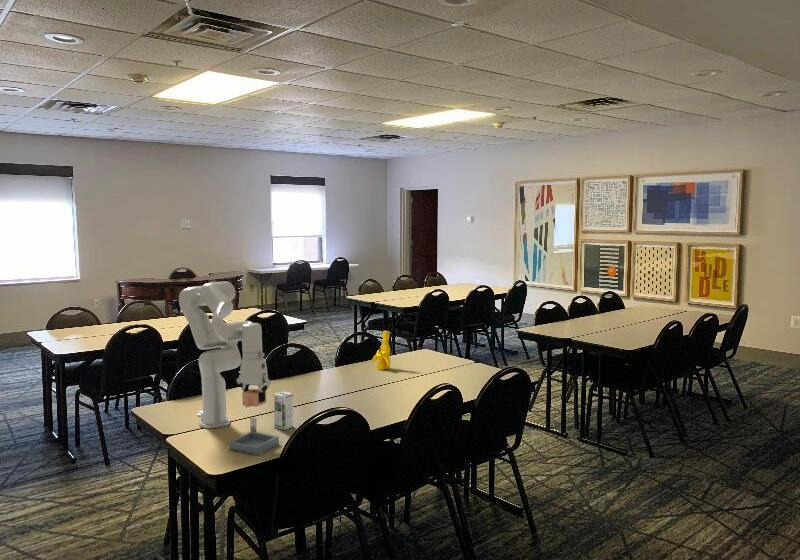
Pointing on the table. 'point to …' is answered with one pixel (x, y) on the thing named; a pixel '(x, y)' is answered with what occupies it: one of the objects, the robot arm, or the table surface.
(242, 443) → the tray
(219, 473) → the table surface
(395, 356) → the table surface
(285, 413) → the syrup box
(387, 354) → the figure statuette
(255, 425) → the stake
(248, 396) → the salmon pink block
